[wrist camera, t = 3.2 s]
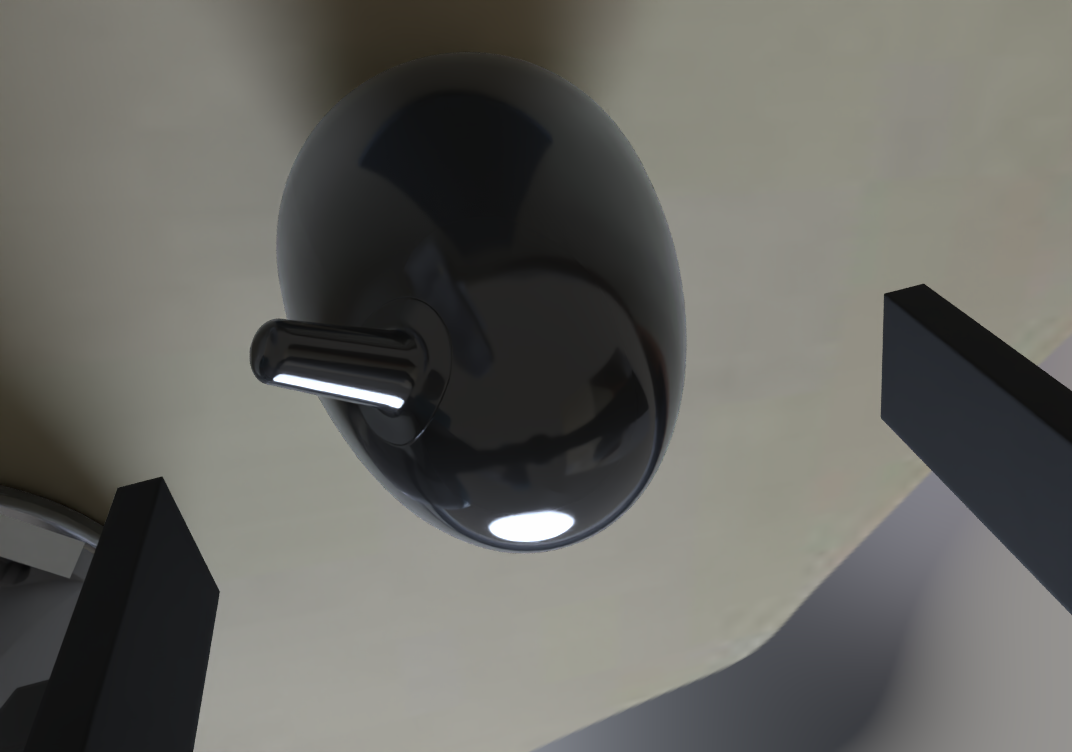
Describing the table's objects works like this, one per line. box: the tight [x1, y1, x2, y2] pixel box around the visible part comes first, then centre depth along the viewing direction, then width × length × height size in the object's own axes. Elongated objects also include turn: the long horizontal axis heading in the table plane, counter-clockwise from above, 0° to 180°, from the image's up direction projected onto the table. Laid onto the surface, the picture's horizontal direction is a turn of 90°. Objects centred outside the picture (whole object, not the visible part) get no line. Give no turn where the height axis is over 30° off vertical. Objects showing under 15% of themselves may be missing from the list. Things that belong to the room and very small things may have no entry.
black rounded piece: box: [250, 52, 687, 553], centre depth 22 cm, size 10×10×15 cm
